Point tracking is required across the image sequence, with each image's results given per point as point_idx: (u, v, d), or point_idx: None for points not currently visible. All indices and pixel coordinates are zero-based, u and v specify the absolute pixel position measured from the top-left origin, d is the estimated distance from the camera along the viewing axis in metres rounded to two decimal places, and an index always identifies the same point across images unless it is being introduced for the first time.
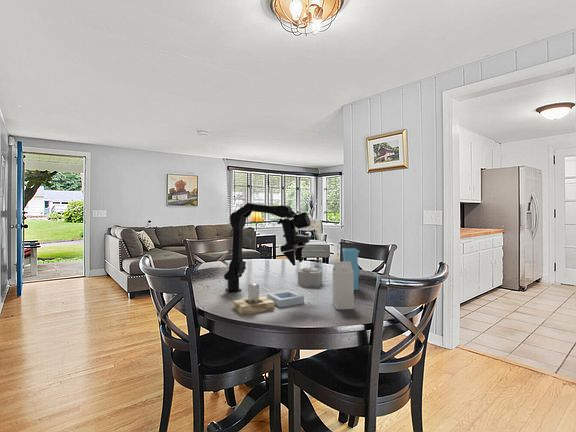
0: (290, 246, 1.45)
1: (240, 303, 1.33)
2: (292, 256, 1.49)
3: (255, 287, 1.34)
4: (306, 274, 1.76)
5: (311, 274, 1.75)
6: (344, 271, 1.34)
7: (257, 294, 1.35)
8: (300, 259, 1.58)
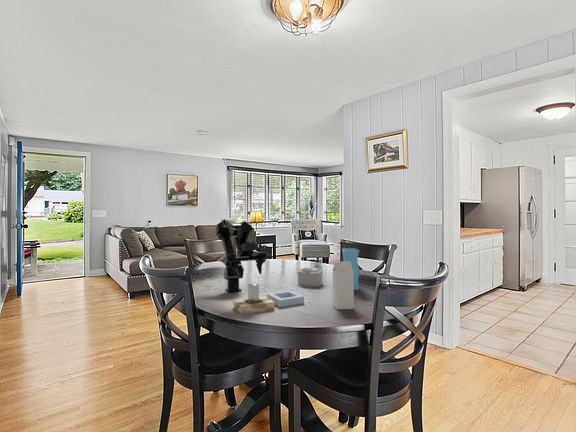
0: (226, 256, 1.43)
1: (240, 303, 1.33)
2: (236, 267, 1.43)
3: (255, 287, 1.34)
4: (306, 275, 1.75)
5: (311, 274, 1.74)
6: (344, 271, 1.34)
7: (257, 294, 1.35)
8: (259, 271, 1.46)
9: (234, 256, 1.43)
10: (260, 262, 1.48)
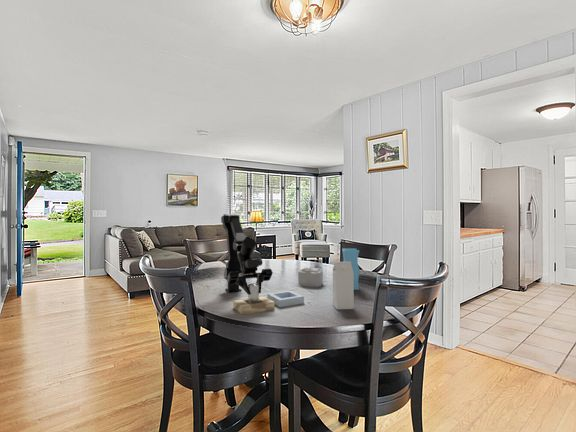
0: (229, 274, 1.35)
1: (240, 303, 1.33)
2: (244, 284, 1.36)
3: (255, 287, 1.34)
4: (307, 275, 1.75)
5: (312, 274, 1.74)
6: (344, 271, 1.34)
7: (257, 294, 1.35)
8: (259, 289, 1.37)
9: (237, 273, 1.36)
10: (260, 280, 1.39)
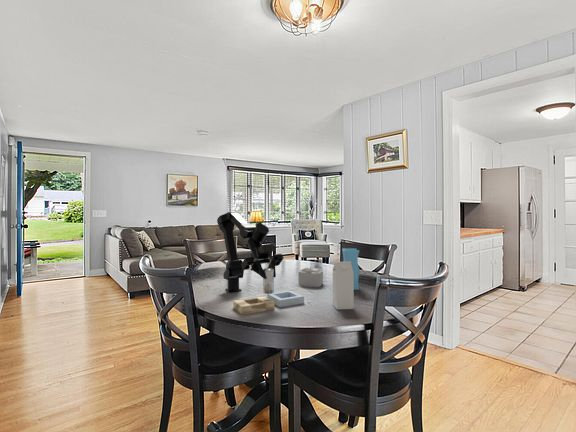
0: (245, 259, 1.37)
1: (240, 303, 1.33)
2: (259, 269, 1.38)
3: (271, 271, 1.38)
4: (307, 275, 1.75)
5: (312, 274, 1.74)
6: (344, 271, 1.34)
7: (273, 278, 1.39)
8: None
9: (252, 259, 1.37)
10: (273, 265, 1.42)
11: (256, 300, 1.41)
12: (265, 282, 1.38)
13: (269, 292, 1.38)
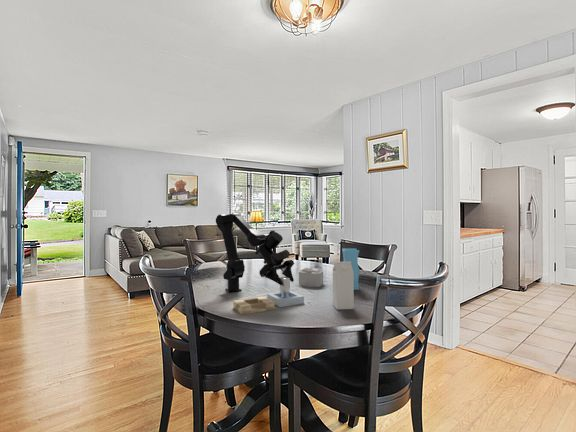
0: (265, 267, 1.40)
1: (240, 303, 1.33)
2: (275, 276, 1.42)
3: (288, 280, 1.45)
4: (307, 275, 1.74)
5: (312, 274, 1.74)
6: (344, 271, 1.34)
7: (289, 286, 1.46)
8: (291, 278, 1.48)
9: (271, 266, 1.42)
10: (289, 270, 1.50)
11: (256, 300, 1.41)
12: (283, 290, 1.44)
13: None
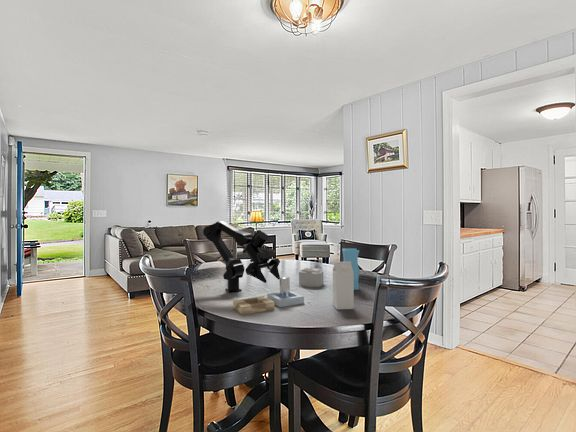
0: (250, 265, 1.46)
1: (240, 303, 1.33)
2: (259, 274, 1.47)
3: (288, 280, 1.45)
4: (308, 275, 1.74)
5: (313, 274, 1.73)
6: (344, 271, 1.34)
7: (289, 286, 1.46)
8: (277, 276, 1.54)
9: (257, 264, 1.48)
10: (276, 268, 1.56)
11: (256, 300, 1.41)
12: (283, 290, 1.44)
13: None
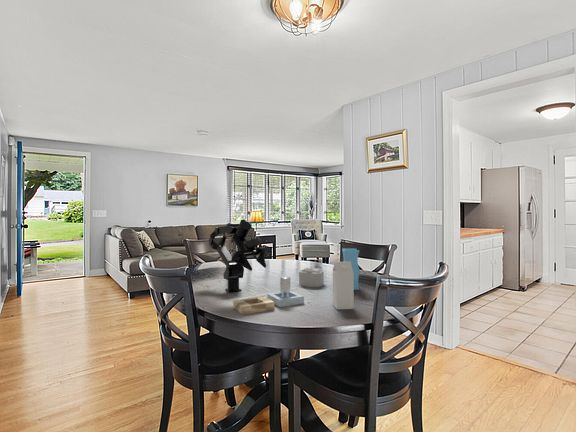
0: (236, 253, 1.48)
1: (240, 303, 1.33)
2: (245, 262, 1.49)
3: (289, 280, 1.44)
4: (308, 275, 1.74)
5: (313, 275, 1.73)
6: (344, 271, 1.34)
7: None
8: (264, 264, 1.56)
9: (243, 252, 1.50)
10: (263, 256, 1.58)
11: (256, 300, 1.41)
12: (283, 290, 1.44)
13: None
